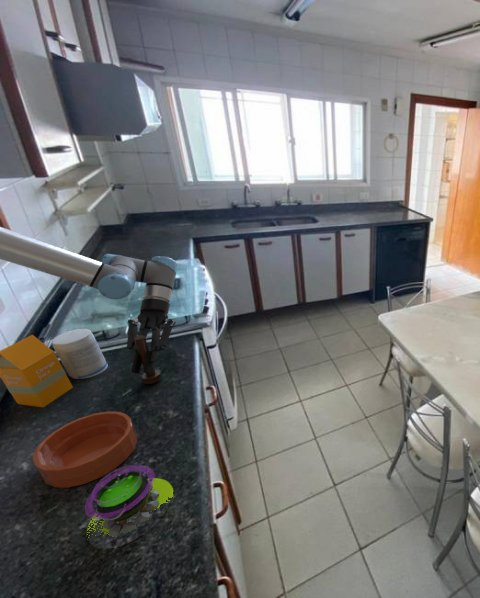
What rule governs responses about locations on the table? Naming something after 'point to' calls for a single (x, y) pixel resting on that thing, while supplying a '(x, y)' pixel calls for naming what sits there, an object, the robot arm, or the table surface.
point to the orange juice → (33, 373)
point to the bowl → (85, 449)
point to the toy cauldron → (127, 500)
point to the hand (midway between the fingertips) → (141, 372)
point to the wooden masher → (143, 349)
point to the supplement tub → (80, 353)
